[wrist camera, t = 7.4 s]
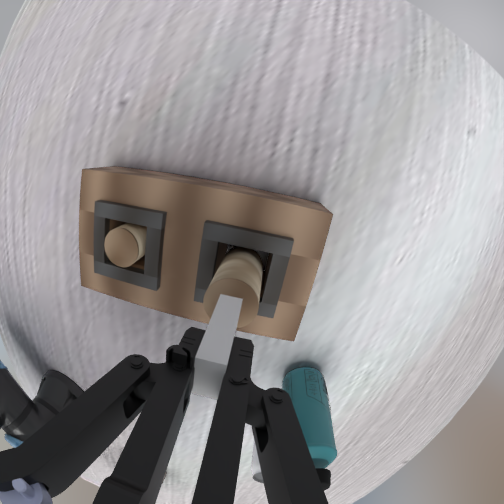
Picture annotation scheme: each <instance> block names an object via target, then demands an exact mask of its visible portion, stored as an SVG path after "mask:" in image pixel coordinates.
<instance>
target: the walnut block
mask: <svg viewBox="0 0 504 504" xmlns="http://www.w3.org/2000/svg"><path fill="white" fill-rule="evenodd" d="M332 216H333V214H332V213H331V212H330V211H329V210H328V209H326V208H325V207H324V206H323V205H322V204H320V203H317V202H313V201H309V200H304V199H300V198H296V197H292V196H287V195H283V194H278V193H274V192H269V191H265V190H260V189H255V188H250V187H245V186H240V185H235V184H230V183H224V182H219V181H213V180H208V179H202V178H196V177H190V176H184V175H177V174H171V173H164V172H157V171H149V170H142V169H134V168H125V167H117V166H113V167H100V168H90V169H82V177H81V190H80V209H79V254H80V274H81V286H84V287H87V288H89V289H92V290H95V291H98V292H101V293H104V294H107V295H110V296H113V297H116V298H119V299H122V300H125V301H128V302H131V303H135V304H138V305H141V306H144V307H148V308H151V309H155V310H158V311H161V312H165V313H169V314H172V315H176V316H180V317H183V318H187V319H191V320H195V321H199V322H203V323H207V324H209V321H210V318H209V316H208V315H207V313H206V312H205V309H204V305H203V299H204V295H205V293H206V291H207V289H208V287H209V285H210V283H211V281H212V279H213V277H214V275H215V273H216V272H217V270H218V268H219V266H220V264H221V262H222V260H223V258H224V257H225V255H226V251H227V245H228V244H231V245H235V246H240V247H245V248H249V249H254V250H259V251H263V252H268V253H269V254H268V259H267V263H266V267H265V271H263V274H262V283H261V291H260V300H259V308H258V313H257V315H256V317H255V319H254V320H253V321H252V322H251V323H249V324H248V325H246V326H244V327H241V328H237V329H236V330H237V331H242V332H247V333H252V334H257V335H262V336H267V337H272V338H277V339H283V340H289V341H294V340H295V337H296V334H297V331H298V328H299V325H300V323H301V320H302V317H303V314H304V311H305V308H306V305H307V302H308V298H309V295H310V292H311V289H312V286H313V283H314V279H315V276H316V273H317V270H318V266H319V263H320V259H321V256H322V253H323V249H324V246H325V242H326V238H327V235H328V231H329V227H330V224H331V220H332ZM126 223H132V224H137V225H142V226H146V227H147V233H146V247H145V255H144V256H143V257H141V258H140V259H139V260H137V261H136V262H135V263H133V264H132V265H131V266H129V267H119V266H117V265H115V264H114V263H112V262H111V261H110V259H109V258H108V256H107V254H106V252H105V247H104V243H105V238H106V236H107V234H108V233H109V232H110V231H111V230H113V229H115V228H117V227H119V226H121V225H123V224H126Z"/></svg>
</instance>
